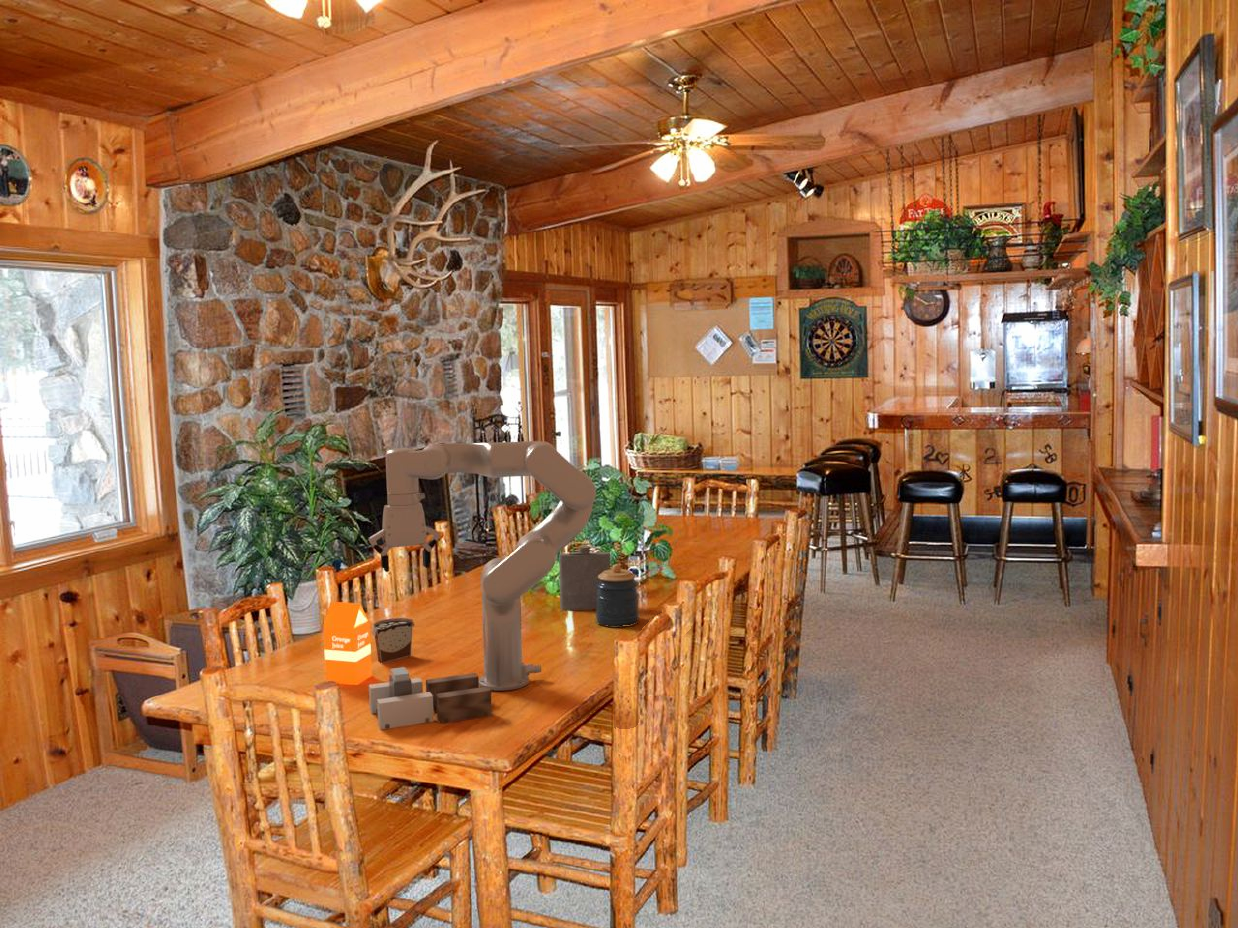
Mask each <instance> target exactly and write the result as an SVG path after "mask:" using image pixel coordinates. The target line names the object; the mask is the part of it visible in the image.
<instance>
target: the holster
mask: <svg viewBox="0 0 1238 928" xmlns="http://www.w3.org/2000/svg"><path fill="white" fill-rule="evenodd" d="M479 678H480V677H479V676H478V675H477V673H476V672H473V673H471V672H470V673H465V674H464V673H463V674H459V675H458V674H457V675H451V676H449V675H448V676H442V677H437V678H428V679H425V693H426V692H430V693H431V694H432V695H433V709H434V708H435V709H434V710H435V712H436V719H437V721H438V723H439V724H448V723H453V722H460V721H466V720H473V718H474V719H478V718H485V717H484V716H487V717H492V716H493V715H492V714H493V712H492V710H493V709H492V690H490V689H489V688H488V687H480V686H479ZM491 715H492V716H491Z"/></svg>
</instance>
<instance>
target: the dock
mask: <svg viewBox="0 0 1238 928" xmlns="http://www.w3.org/2000/svg"><path fill="white" fill-rule="evenodd" d="M410 679H411V682H412V695H405V696H397V697H390V687H389V681H388V682H379V683H373V684H368V696H369V697H368V698H369V712H370V713H371V714H372V715H373V714H376V715H377V726H378V728H379V729H380V730H386V729H393V728H399V727H400V728H401V727H408V726H413V725H419V724H425V723H427V724H428V723H433V722H435V720H434V719H435V717H434V716H435V715H434V708H433V695H432V694H431V693H430V692H426V691H425V692H424V688H423V680H422V679H421V678H420V677H418V678H417V677H416V678H410Z"/></svg>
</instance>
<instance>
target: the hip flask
mask: <svg viewBox="0 0 1238 928" xmlns="http://www.w3.org/2000/svg"><path fill="white" fill-rule="evenodd" d="M578 550H579V551H575V552H567V553H565V552H564V553H558V554H559V555H558V560H559V561H558V563H559V596H560V597H559V601H560V602H559V603H560V605H559V606H560V607H559V608H560V610H561V611H593V610H592V609H596V596H595V595H596V593H597V587H596V586H595V583H596V582H597V581H599V578H598V575H599V574H601V573H602V572H603V571H605V570H610V569H611V553H610V551H600V552H598V551H597V552H591V551H590V550H591V545H580V546H578Z"/></svg>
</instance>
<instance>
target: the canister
mask: <svg viewBox="0 0 1238 928" xmlns="http://www.w3.org/2000/svg"><path fill="white" fill-rule="evenodd" d="M598 578H599V581H597V582H596V583H595V586H596V587H597V593H596V595H595V596H596V611H595V619H596V623H597V624H598V623H599V624H601V625H600V626H602V625H608V626H623V625H631V624H634V623H636V622H638V623H639V618H640V613H639V592H638V588H637V587H638V586H639V582H638V581H637V580H636V579H635V578H636V574H635V573H633V572H632V571H631V570H630V569H629V570H628V569H624V568H621V565H620V564H616V563H615V564H613V565H612V567H611V568H610V570H605V571H603V572H602V573H601V574H599V575H598ZM599 624H598V625H599ZM636 624H637V623H636Z"/></svg>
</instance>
